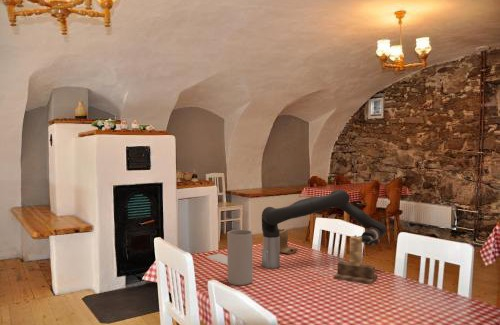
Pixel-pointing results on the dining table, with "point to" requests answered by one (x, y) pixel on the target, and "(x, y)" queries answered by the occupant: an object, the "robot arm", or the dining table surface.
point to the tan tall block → (355, 251)
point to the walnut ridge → (355, 273)
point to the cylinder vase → (240, 257)
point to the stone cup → (285, 243)
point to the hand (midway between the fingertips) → (361, 242)
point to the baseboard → (219, 258)
